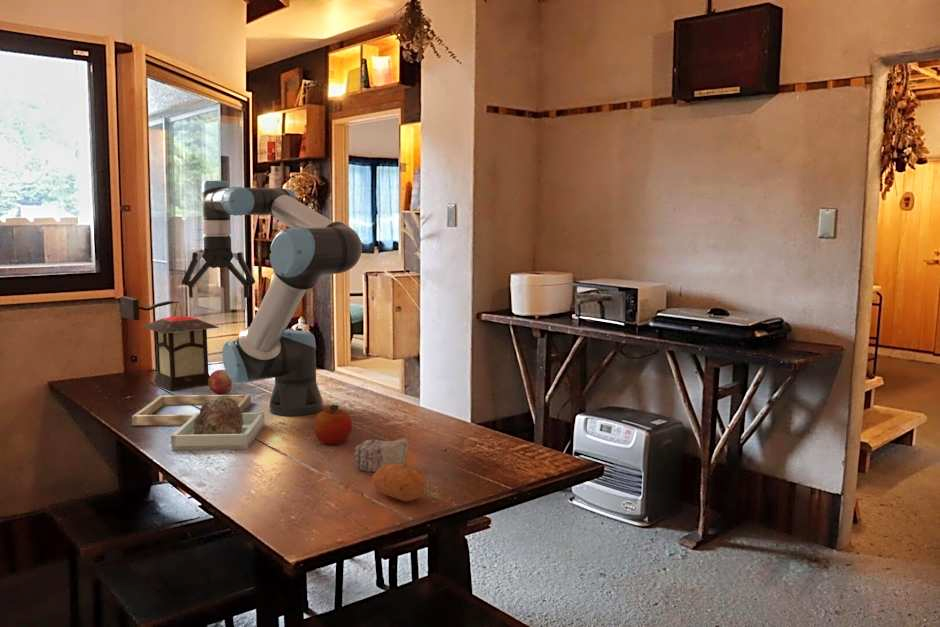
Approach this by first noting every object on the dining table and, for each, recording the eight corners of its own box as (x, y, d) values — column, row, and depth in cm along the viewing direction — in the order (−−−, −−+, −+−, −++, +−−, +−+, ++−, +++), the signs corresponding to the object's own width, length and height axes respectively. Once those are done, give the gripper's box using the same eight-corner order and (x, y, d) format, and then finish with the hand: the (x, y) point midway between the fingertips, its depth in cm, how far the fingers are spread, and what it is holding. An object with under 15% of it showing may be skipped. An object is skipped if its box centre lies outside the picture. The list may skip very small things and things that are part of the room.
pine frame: (250, 402, 235) (250, 394, 235) (232, 423, 212) (232, 414, 212) (160, 403, 233) (160, 395, 233) (132, 425, 210) (131, 416, 210)
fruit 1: (227, 398, 240) (226, 373, 239) (203, 397, 241) (202, 372, 240) (238, 392, 248) (237, 367, 247) (215, 391, 249) (214, 367, 248)
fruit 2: (347, 435, 202) (347, 397, 201) (356, 445, 193) (355, 406, 192) (310, 439, 198) (309, 400, 197) (317, 449, 190) (316, 409, 188)
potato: (402, 511, 151) (402, 476, 150) (365, 493, 161) (365, 459, 160) (432, 502, 156) (432, 468, 155) (394, 485, 166) (394, 452, 165)
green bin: (264, 425, 211) (264, 412, 210) (247, 449, 190) (247, 434, 190) (196, 426, 210) (195, 413, 209) (171, 450, 189) (170, 436, 188)
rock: (186, 437, 199) (199, 446, 192) (182, 404, 198) (195, 412, 190) (241, 423, 208) (256, 432, 200) (237, 392, 207) (252, 399, 199)
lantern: (121, 387, 254) (115, 295, 250) (198, 376, 272) (194, 290, 268) (141, 397, 241) (136, 300, 237) (222, 385, 258) (218, 294, 254)
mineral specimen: (400, 458, 184) (400, 432, 183) (411, 467, 177) (411, 440, 176) (348, 465, 178) (347, 439, 177) (357, 475, 172) (357, 447, 171)
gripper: (263, 235, 229) (265, 307, 232) (176, 234, 227) (179, 307, 230) (259, 236, 222) (261, 310, 225) (168, 235, 220) (171, 310, 223)
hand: (219, 309), depth 228 cm, fingers open, 13 cm apart
